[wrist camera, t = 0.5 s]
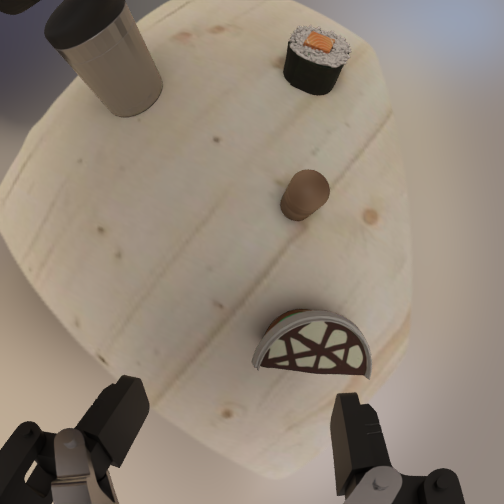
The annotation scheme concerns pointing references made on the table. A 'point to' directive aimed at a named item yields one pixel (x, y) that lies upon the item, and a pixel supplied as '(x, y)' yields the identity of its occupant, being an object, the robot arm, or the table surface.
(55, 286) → the table surface
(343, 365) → the food container
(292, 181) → the walnut cylinder
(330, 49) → the sushi
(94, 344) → the table surface
